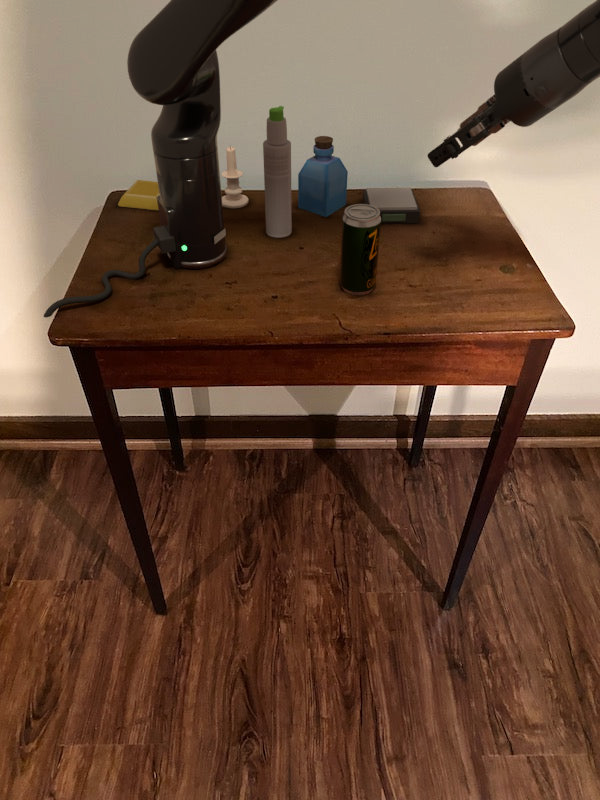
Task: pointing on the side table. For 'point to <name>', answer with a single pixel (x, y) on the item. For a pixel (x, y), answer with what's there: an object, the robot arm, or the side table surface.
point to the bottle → (277, 175)
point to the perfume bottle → (322, 180)
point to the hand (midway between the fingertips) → (446, 148)
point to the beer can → (359, 249)
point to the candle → (233, 183)
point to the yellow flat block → (141, 195)
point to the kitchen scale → (393, 204)
